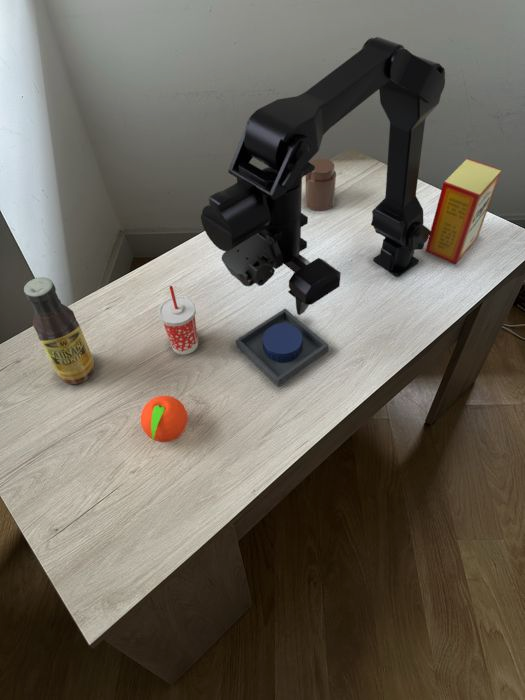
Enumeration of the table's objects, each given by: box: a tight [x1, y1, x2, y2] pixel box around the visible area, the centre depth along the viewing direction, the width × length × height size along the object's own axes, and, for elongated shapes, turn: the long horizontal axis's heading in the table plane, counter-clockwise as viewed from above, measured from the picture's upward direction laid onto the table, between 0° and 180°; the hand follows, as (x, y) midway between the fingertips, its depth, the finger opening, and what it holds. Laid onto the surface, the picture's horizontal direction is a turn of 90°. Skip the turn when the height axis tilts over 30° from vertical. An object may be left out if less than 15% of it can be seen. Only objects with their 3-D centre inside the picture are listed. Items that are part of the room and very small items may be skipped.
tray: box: [235, 308, 329, 388], centre depth 89 cm, size 11×11×2 cm
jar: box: [304, 157, 337, 212], centre depth 111 cm, size 6×6×9 cm
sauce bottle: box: [23, 276, 95, 385], centre depth 80 cm, size 7×6×20 cm
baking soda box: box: [425, 158, 503, 265], centre depth 98 cm, size 10×6×16 cm
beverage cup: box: [157, 285, 199, 355], centre depth 85 cm, size 6×6×14 cm
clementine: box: [140, 395, 188, 443], centre depth 77 cm, size 8×7×7 cm
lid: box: [263, 323, 303, 363], centre depth 88 cm, size 7×7×2 cm
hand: (280, 296), depth 79 cm, fingers open, 9 cm apart
